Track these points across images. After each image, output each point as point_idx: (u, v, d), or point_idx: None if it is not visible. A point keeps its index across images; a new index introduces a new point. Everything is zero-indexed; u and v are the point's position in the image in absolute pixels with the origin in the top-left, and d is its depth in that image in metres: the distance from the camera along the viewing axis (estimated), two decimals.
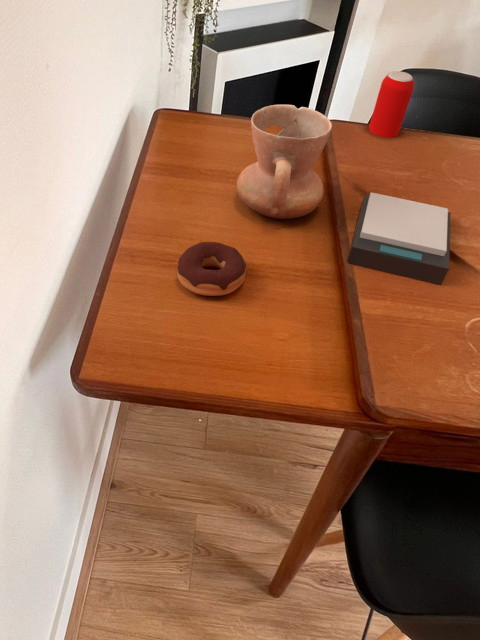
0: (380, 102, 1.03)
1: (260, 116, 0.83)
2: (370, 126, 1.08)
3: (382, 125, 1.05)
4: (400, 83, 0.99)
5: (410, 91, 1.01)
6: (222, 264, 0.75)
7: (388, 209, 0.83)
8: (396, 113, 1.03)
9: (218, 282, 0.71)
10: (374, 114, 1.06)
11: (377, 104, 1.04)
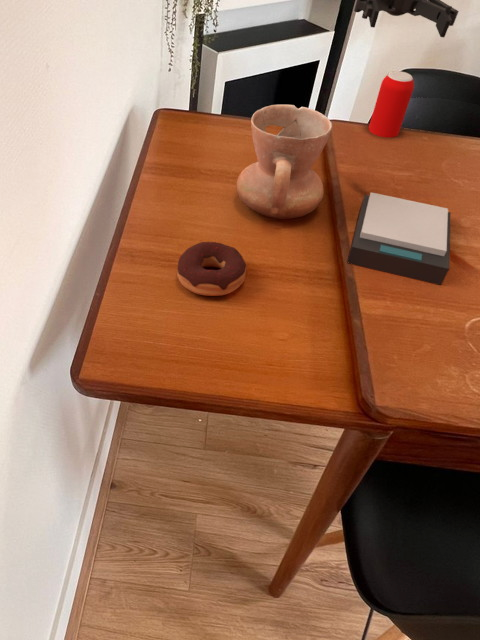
0: (380, 102, 1.03)
1: (260, 116, 0.83)
2: (370, 126, 1.08)
3: (382, 125, 1.05)
4: (400, 83, 0.99)
5: (410, 91, 1.01)
6: (222, 264, 0.75)
7: (388, 209, 0.83)
8: (396, 113, 1.03)
9: (218, 282, 0.71)
10: (374, 114, 1.06)
11: (377, 104, 1.04)
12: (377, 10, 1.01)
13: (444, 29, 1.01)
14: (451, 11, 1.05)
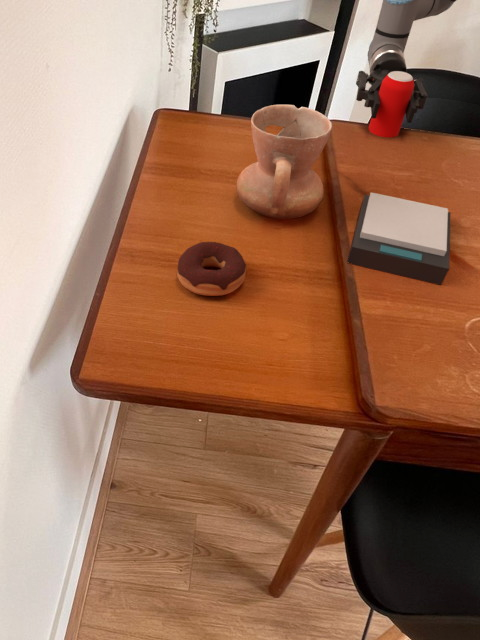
0: (380, 102, 1.03)
1: (260, 116, 0.83)
2: (370, 126, 1.08)
3: (382, 125, 1.05)
4: (400, 83, 0.99)
5: (410, 91, 1.01)
6: (222, 264, 0.75)
7: (388, 209, 0.83)
8: (396, 114, 1.03)
9: (218, 282, 0.71)
10: None
11: None
12: (378, 102, 1.01)
13: (410, 115, 1.01)
14: (420, 95, 1.05)
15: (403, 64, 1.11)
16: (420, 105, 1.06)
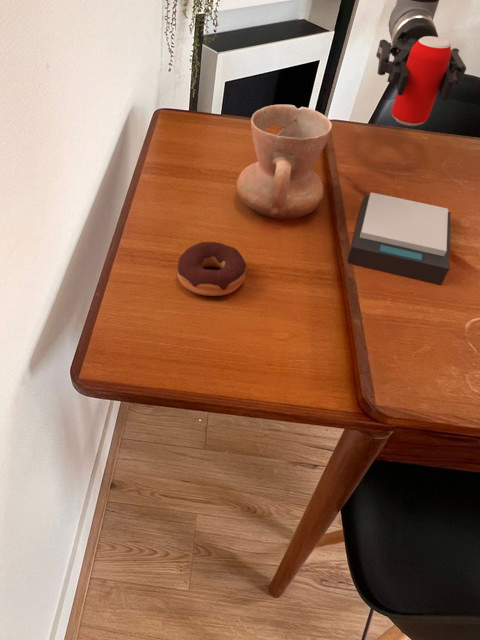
0: (408, 75, 0.83)
1: (260, 116, 0.83)
2: (394, 106, 0.88)
3: (410, 104, 0.85)
4: (435, 51, 0.79)
5: (446, 61, 0.80)
6: (222, 264, 0.75)
7: (388, 209, 0.83)
8: (428, 89, 0.83)
9: (218, 282, 0.71)
10: None
11: None
12: (406, 75, 0.81)
13: (446, 91, 0.81)
14: (457, 67, 0.85)
15: (434, 31, 0.91)
16: (457, 80, 0.85)
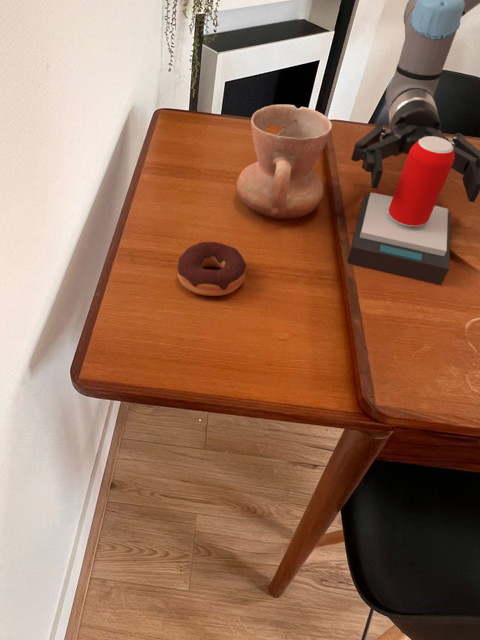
0: (407, 177, 0.75)
1: (260, 116, 0.83)
2: (392, 206, 0.80)
3: (409, 207, 0.77)
4: (436, 156, 0.71)
5: (449, 165, 0.73)
6: (222, 264, 0.75)
7: (388, 209, 0.83)
8: (429, 194, 0.75)
9: (218, 282, 0.71)
10: (398, 192, 0.78)
11: (403, 179, 0.76)
12: (380, 169, 0.74)
13: (474, 193, 0.74)
14: None
15: (436, 117, 0.83)
16: None
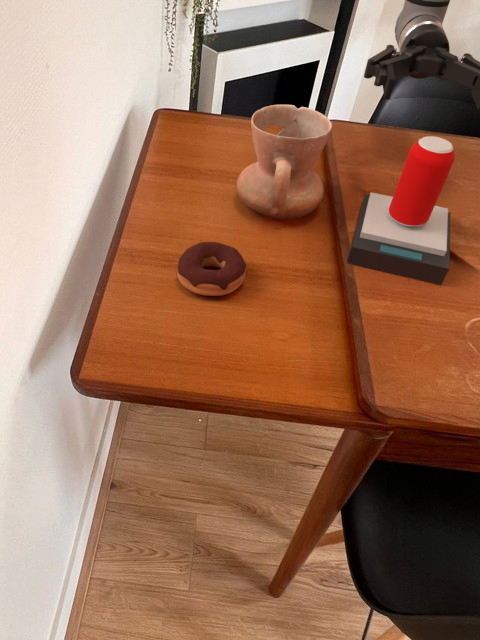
0: (407, 177, 0.75)
1: (260, 116, 0.83)
2: (392, 206, 0.80)
3: (409, 207, 0.77)
4: (436, 156, 0.71)
5: (449, 165, 0.73)
6: (222, 264, 0.75)
7: (388, 209, 0.83)
8: (429, 194, 0.75)
9: (218, 282, 0.71)
10: (398, 192, 0.78)
11: (403, 179, 0.76)
12: (392, 78, 0.77)
13: None
14: None
15: (445, 38, 0.86)
16: None
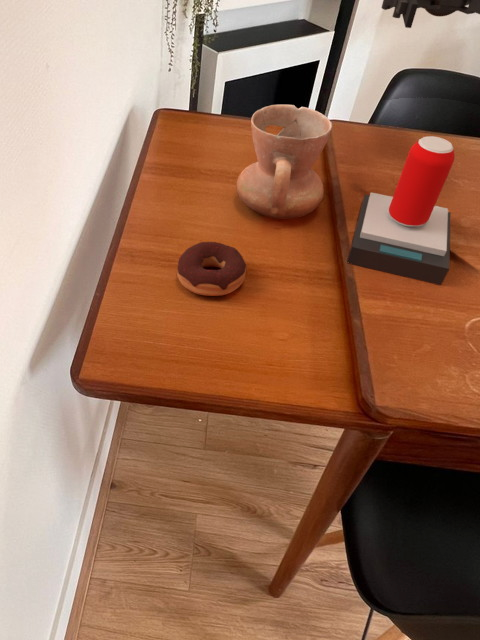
0: (407, 177, 0.75)
1: (260, 116, 0.83)
2: (392, 206, 0.80)
3: (409, 207, 0.77)
4: (436, 156, 0.71)
5: (449, 165, 0.73)
6: (222, 264, 0.75)
7: (388, 209, 0.83)
8: (429, 194, 0.75)
9: (218, 282, 0.71)
10: (398, 192, 0.78)
11: (403, 179, 0.76)
12: (415, 3, 0.70)
13: None
14: None
15: None
16: None
